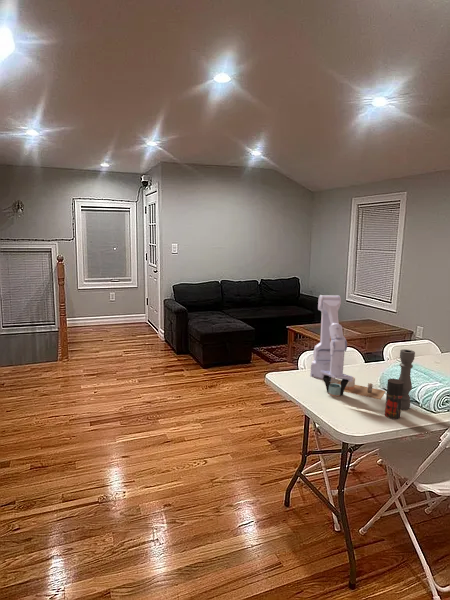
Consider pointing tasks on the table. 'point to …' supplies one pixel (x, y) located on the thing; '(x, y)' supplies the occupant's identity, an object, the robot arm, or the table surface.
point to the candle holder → (406, 376)
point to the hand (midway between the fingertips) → (334, 393)
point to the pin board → (366, 391)
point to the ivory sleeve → (350, 385)
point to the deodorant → (394, 398)
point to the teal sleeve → (334, 389)
